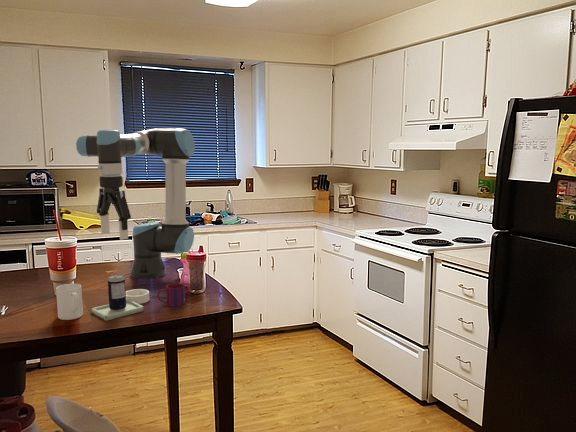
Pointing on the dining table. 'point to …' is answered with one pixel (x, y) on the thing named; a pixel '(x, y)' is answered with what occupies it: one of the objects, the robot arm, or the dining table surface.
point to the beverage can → (117, 292)
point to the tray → (108, 314)
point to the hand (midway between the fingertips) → (114, 236)
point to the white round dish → (138, 295)
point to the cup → (174, 294)
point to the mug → (69, 301)
